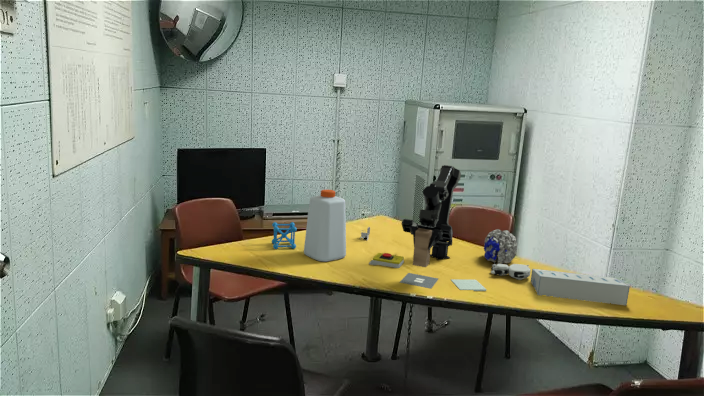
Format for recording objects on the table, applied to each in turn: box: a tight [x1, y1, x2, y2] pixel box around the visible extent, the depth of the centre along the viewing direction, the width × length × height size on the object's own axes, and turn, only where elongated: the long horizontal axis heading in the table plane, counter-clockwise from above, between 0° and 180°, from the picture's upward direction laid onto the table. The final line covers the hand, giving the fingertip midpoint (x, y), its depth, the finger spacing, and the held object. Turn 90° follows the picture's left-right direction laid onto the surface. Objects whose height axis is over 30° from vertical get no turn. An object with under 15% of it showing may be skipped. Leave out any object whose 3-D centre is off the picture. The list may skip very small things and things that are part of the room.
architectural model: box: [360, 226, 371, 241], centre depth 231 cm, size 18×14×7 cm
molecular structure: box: [271, 221, 298, 250], centre depth 217 cm, size 10×10×10 cm
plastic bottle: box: [303, 189, 347, 263], centre depth 205 cm, size 15×15×28 cm
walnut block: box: [412, 228, 432, 268], centre depth 182 cm, size 5×5×13 cm
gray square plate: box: [399, 272, 439, 289], centre depth 185 cm, size 12×12×1 cm
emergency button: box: [368, 252, 405, 269], centre depth 203 cm, size 9×4×15 cm
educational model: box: [483, 228, 518, 264], centre depth 216 cm, size 14×20×15 cm
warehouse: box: [530, 268, 631, 306], centre depth 182 cm, size 30×14×8 cm, turn 80°
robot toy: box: [490, 263, 531, 281], centre depth 197 cm, size 12×4×15 cm
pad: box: [450, 278, 487, 292], centre depth 183 cm, size 10×10×1 cm
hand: (421, 247), depth 181 cm, fingers closed on walnut block, 5 cm apart
